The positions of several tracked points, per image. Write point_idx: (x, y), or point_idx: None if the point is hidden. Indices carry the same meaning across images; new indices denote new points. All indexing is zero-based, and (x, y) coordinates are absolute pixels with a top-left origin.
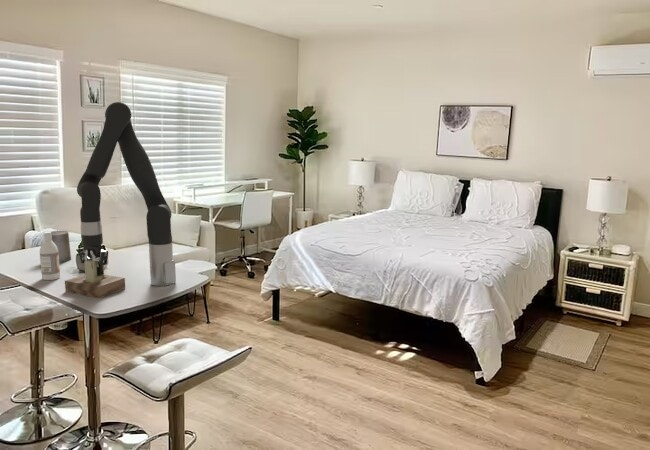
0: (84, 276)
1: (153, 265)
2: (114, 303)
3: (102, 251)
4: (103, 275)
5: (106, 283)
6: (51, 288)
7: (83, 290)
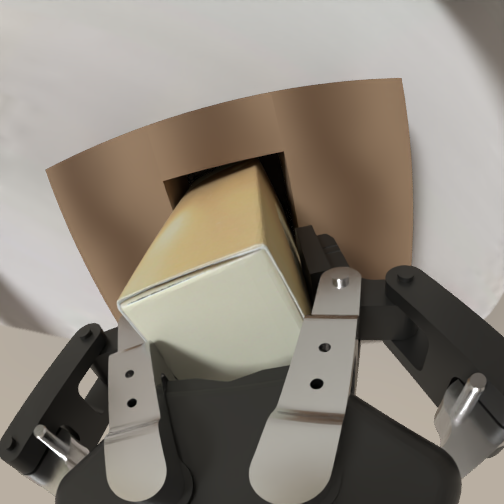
0: (110, 250)
1: None
2: (474, 259)
3: (484, 452)
4: (263, 184)
5: (402, 244)
6: (69, 316)
7: None
